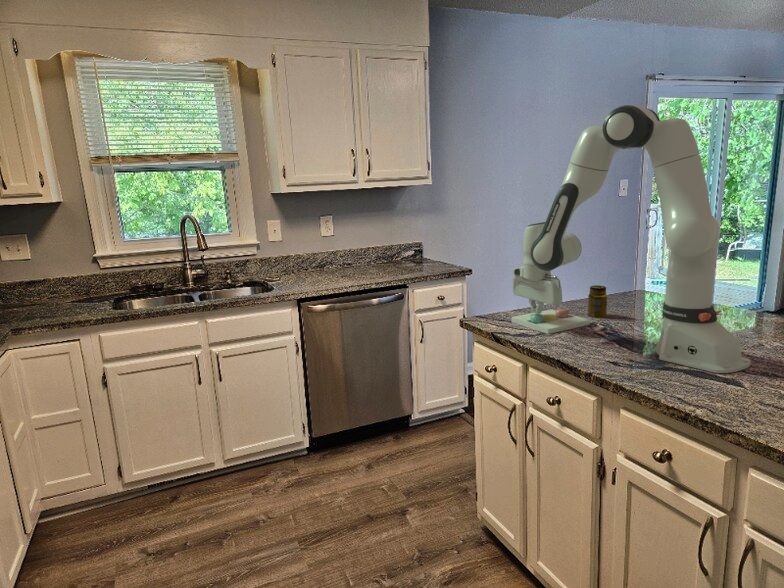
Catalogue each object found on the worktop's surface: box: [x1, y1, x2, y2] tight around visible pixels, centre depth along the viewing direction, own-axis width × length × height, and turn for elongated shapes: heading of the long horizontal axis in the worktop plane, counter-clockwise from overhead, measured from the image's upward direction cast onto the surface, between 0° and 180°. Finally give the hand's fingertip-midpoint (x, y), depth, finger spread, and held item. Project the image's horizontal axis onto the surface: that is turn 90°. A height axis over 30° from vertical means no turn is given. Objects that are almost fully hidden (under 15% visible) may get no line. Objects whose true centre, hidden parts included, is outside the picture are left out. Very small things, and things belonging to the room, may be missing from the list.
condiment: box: [587, 285, 608, 319], centre depth 177 cm, size 7×8×12 cm
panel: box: [511, 308, 591, 335], centre depth 173 cm, size 18×18×3 cm
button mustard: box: [544, 314, 556, 321], centre depth 173 cm, size 4×4×4 cm
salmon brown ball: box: [555, 308, 570, 319], centre depth 175 cm, size 4×4×4 cm
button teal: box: [531, 314, 544, 324], centre depth 171 cm, size 4×4×4 cm
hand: (536, 312), depth 170 cm, fingers closed
